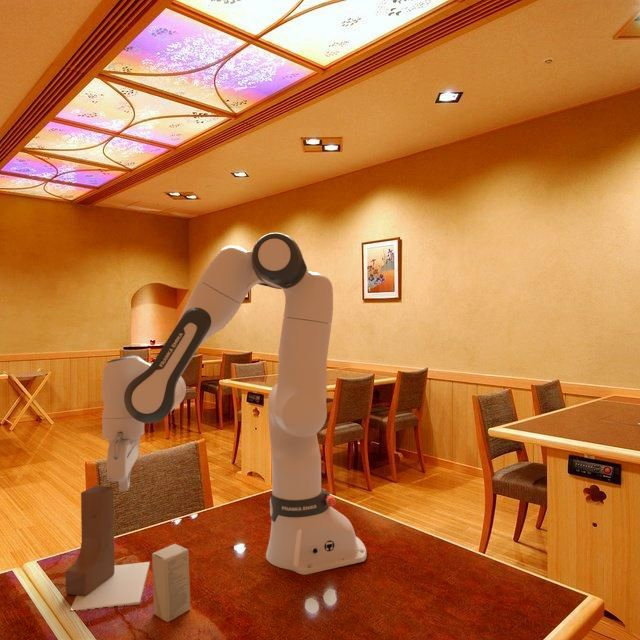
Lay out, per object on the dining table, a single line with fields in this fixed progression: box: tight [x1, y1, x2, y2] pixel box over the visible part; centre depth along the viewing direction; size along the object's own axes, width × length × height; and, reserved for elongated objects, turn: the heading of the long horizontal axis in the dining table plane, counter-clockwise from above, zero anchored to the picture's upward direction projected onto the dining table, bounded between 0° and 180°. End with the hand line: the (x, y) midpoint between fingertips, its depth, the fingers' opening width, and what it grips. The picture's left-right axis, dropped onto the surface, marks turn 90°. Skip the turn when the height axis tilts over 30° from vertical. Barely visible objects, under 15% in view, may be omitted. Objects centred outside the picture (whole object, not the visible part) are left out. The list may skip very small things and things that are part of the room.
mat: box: [70, 561, 151, 612], centre depth 100 cm, size 12×16×1 cm
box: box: [151, 543, 191, 623], centre depth 91 cm, size 5×4×11 cm
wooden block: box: [64, 485, 115, 596], centre depth 100 cm, size 9×4×18 cm, turn 166°
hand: (124, 489), depth 115 cm, fingers closed
